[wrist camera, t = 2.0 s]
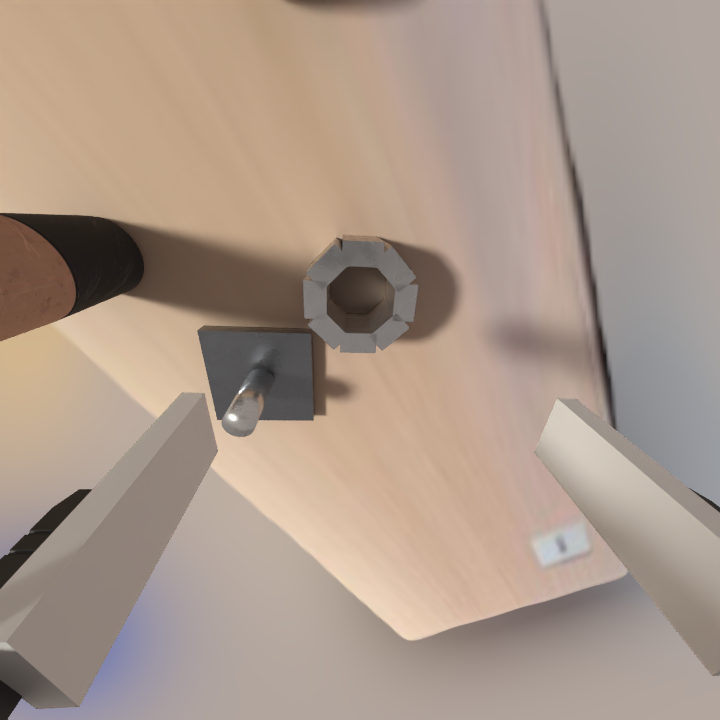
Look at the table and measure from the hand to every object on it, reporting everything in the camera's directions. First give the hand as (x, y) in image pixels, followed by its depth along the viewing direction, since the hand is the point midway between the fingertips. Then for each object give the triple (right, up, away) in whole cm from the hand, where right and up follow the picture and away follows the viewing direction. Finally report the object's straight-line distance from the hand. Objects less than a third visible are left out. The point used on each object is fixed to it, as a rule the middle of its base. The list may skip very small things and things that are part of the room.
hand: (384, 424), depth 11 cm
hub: (-1, +10, +20) cm, 22 cm away
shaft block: (-13, +1, +24) cm, 27 cm away
